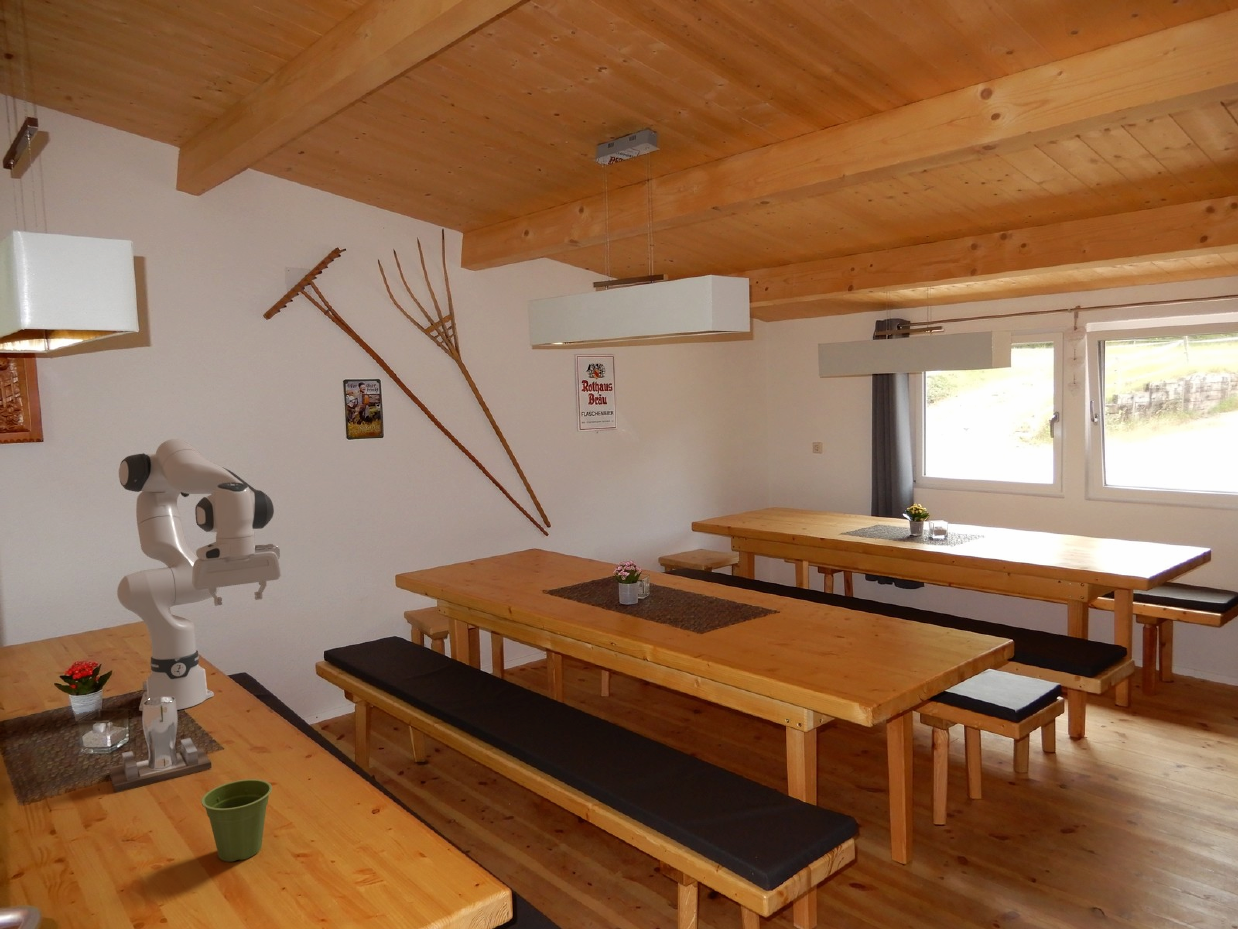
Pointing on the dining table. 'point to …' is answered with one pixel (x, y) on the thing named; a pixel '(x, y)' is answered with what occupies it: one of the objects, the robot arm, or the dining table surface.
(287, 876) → the dining table surface
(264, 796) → the plant pot
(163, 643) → the robot arm
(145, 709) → the beer glass
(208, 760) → the rail board
